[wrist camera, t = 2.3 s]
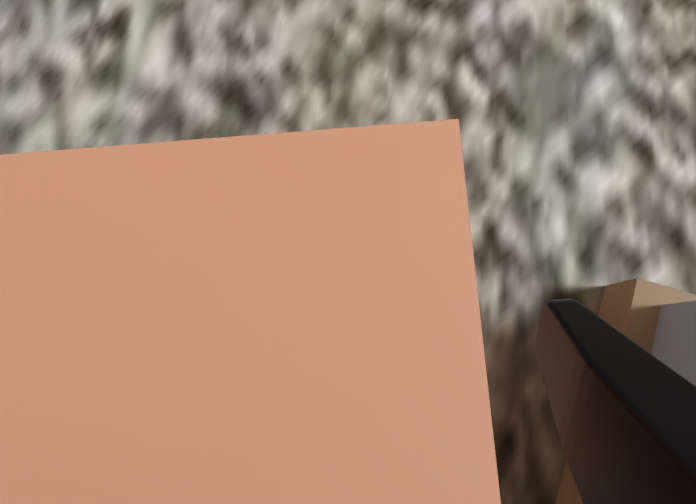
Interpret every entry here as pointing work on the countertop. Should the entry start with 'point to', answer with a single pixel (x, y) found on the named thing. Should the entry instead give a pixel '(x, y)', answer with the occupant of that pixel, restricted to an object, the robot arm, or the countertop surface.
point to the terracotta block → (244, 322)
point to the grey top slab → (677, 338)
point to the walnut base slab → (634, 322)
